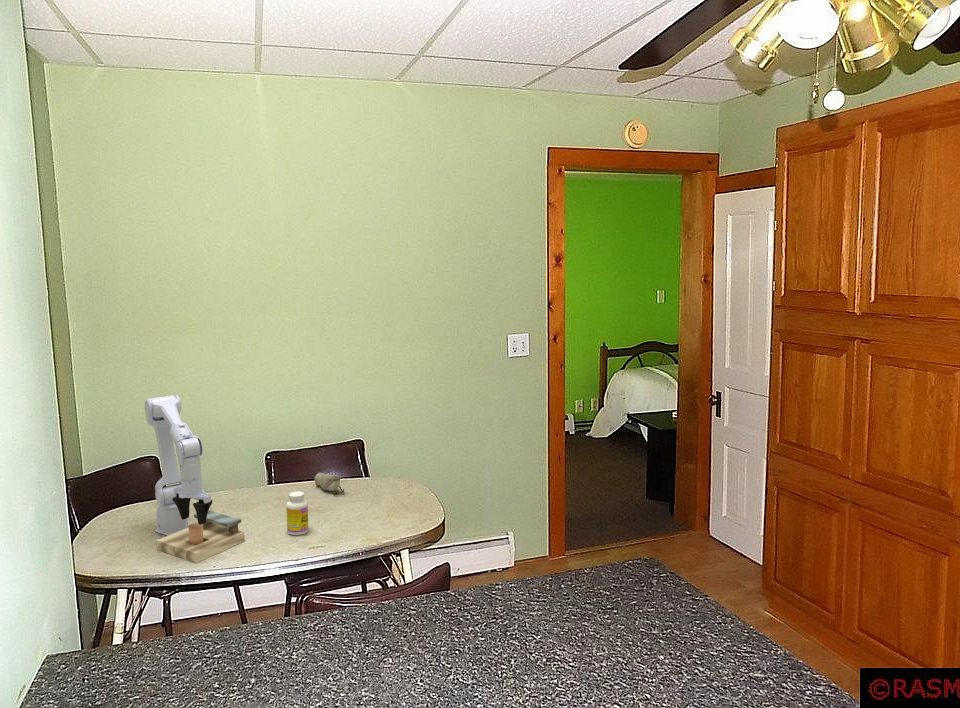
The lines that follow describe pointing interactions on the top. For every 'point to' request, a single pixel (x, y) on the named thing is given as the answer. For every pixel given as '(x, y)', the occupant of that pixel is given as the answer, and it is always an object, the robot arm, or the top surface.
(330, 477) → the decorative bird
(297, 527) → the supplement bottle
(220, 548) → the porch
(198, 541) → the peg
